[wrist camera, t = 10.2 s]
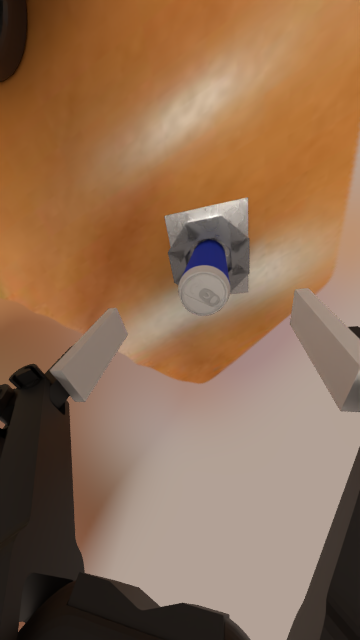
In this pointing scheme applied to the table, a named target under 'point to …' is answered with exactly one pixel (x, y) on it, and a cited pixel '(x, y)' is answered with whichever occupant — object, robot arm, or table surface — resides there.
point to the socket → (212, 238)
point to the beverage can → (205, 279)
